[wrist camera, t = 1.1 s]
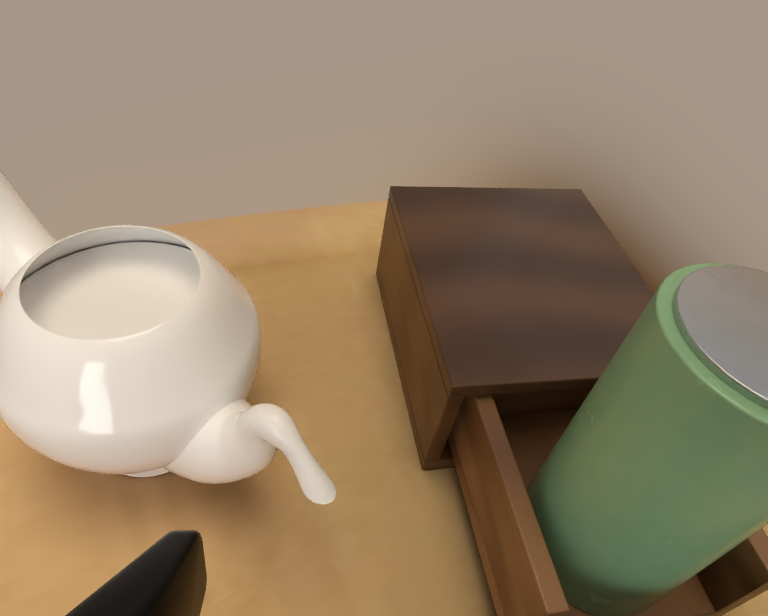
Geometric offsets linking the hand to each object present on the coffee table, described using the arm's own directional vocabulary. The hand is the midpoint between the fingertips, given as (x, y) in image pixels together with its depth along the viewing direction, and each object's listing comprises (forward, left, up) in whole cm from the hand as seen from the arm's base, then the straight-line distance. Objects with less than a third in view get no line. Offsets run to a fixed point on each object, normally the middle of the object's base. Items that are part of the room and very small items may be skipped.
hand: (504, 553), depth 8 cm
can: (+5, -9, -13) cm, 17 cm away
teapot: (+12, +8, -15) cm, 21 cm away
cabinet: (+16, -9, -15) cm, 24 cm away
